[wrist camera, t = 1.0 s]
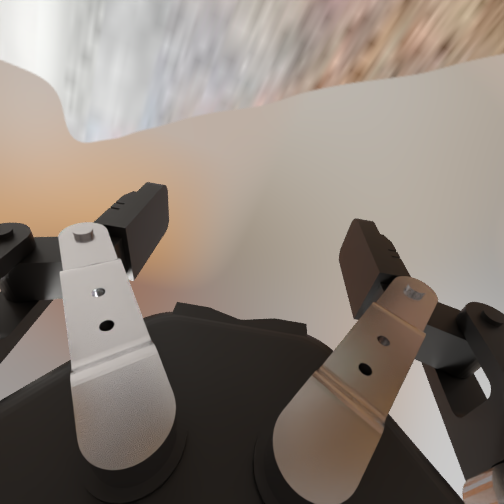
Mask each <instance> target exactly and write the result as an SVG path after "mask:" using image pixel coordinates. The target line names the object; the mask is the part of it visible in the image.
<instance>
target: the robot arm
mask: <svg viewBox="0 0 504 504" xmlns="http://www.w3.org/2000/svg"><path fill="white" fill-rule="evenodd" d="M168 223H169V210H168V190H167V187H166V185H161V184H155V183H150V182H147V183H146V184H145V185H143V187H141V189H139V190H138V191H137V192H134V191H133V192H131V193H128V194H126V195H124V196H122V197H121V198H120V199H119V200H118V201H117V202H116V203H114V204H113V205H112V206H111V208H109V209H108V210H107V211H105V212H104V213H103V214H102V215H101V216H100V217H99V218H98V219H97V220H96V221H94V222H93V223H91V222H88V223H87V222H86V223H79V224H74V225H71V226H69V227H67V228H65V229H64V230H62V231H61V232H60V234H59V236H58V237H33V235H32V232H31V230H30V228H29V227H28V226H27V225H24V224H21V223H2V224H0V289H1V292H0V363H1V362H2V361H3V360H4V359H5V357H6V356H7V355H8V354H9V353H10V351H11V350H12V349H13V348H14V346H15V345H16V344H17V343H18V342H19V340H20V339H21V338H22V337H23V336H24V334H25V333H26V332H27V331H28V330H29V328H30V327H31V326H32V325H33V324H34V322H35V321H36V320H37V319H38V317H39V316H40V315H41V314H42V313H43V311H44V310H45V309H46V308H47V307H48V305H49V304H50V303H51V302H52V301H53V299H63V304H64V312H65V319H66V327H67V335H68V343H69V350H70V358H71V360H69V361H68V362H66V363H64V364H62V365H61V366H59V367H57V368H56V369H54V370H52V371H50V372H49V373H47V374H45V375H44V376H42V377H40V378H38V379H37V380H35V381H33V382H31V383H30V384H28V385H26V386H25V387H23V388H21V389H20V390H18V391H16V392H14V393H13V394H11V395H9V396H8V397H6V398H4V399H2V400H1V401H0V504H504V314H503V313H501V312H500V311H498V310H496V309H495V308H493V307H490V306H488V305H486V304H483V303H478V302H470V303H468V304H467V305H466V306H465V307H464V308H463V309H462V310H461V311H460V310H458V309H455V308H452V307H449V306H447V305H444V304H442V303H439V302H438V298H437V295H436V293H435V292H434V291H433V290H432V289H431V288H430V287H429V286H428V285H426V284H425V283H423V282H422V281H420V280H418V279H415V278H412V277H411V276H410V275H409V273H408V271H407V269H406V267H405V265H404V264H403V262H402V260H401V259H400V256H399V255H398V253H397V252H396V249H395V247H394V245H393V244H392V242H391V241H390V240H388V239H387V238H386V237H385V236H384V235H381V234H380V233H379V231H378V229H377V227H376V225H375V223H374V222H373V221H367V220H362V219H354V220H353V221H352V223H351V225H350V227H349V230H348V232H347V235H346V237H345V239H344V242H343V244H342V247H341V249H340V254H339V263H340V267H341V271H342V274H343V279H344V282H345V286H346V290H347V294H348V298H349V302H350V306H351V310H352V314H353V318H354V319H357V320H358V322H357V323H356V324H355V325H354V326H353V328H352V329H351V330H350V331H349V333H348V334H347V335H346V336H345V338H344V339H343V340H342V341H341V342H340V344H339V345H338V346H337V348H336V349H335V350H334V351H333V350H332V349H330V348H329V347H328V346H327V345H325V344H324V343H322V342H321V341H319V340H317V339H316V338H314V337H312V336H310V335H307V328H306V324H304V323H298V322H292V321H286V320H280V319H253V320H240V319H237V318H234V317H232V316H229V315H227V314H224V313H222V312H219V311H216V310H214V309H212V308H209V307H203V306H198V305H191V304H186V303H180V302H177V304H176V306H175V308H174V311H173V312H165V313H159V314H155V315H151V316H148V317H145V318H143V317H142V315H141V312H140V309H139V307H138V304H137V301H136V299H135V296H134V293H133V291H132V288H131V285H130V283H129V280H132V281H134V280H135V278H136V277H137V275H138V274H139V272H140V271H141V269H142V268H143V266H144V265H145V263H146V261H147V260H148V258H149V257H150V255H151V254H152V252H153V251H154V249H155V247H156V246H157V244H158V243H159V241H160V240H161V238H162V236H163V235H164V234H165V232H166V230H167V227H168ZM414 359H416V360H418V361H421V362H422V365H423V367H424V370H425V373H426V375H427V378H428V381H429V384H430V386H431V389H432V392H433V394H434V397H435V400H436V402H437V405H438V408H439V411H440V413H441V416H442V419H443V421H444V424H445V426H446V429H447V432H448V435H449V437H450V440H451V443H452V445H453V448H454V451H455V453H456V456H457V459H458V462H459V464H460V467H461V470H462V472H463V475H464V478H465V480H466V482H465V484H464V487H463V500H462V499H461V498H460V497H459V495H458V494H457V493H456V492H455V491H454V490H453V488H452V487H451V486H450V485H449V484H448V483H447V481H446V480H445V479H444V478H443V477H442V476H441V474H439V472H438V471H437V470H436V469H435V467H434V466H433V465H432V464H431V463H430V462H429V460H428V459H427V458H426V457H425V456H424V455H423V453H422V452H421V451H420V450H419V449H418V448H417V447H416V445H415V444H414V443H413V442H412V441H411V440H410V438H409V437H408V436H407V435H406V434H405V433H404V431H403V430H402V429H401V428H400V427H399V426H398V424H397V423H396V422H395V421H394V420H393V419H392V417H391V416H390V415H389V414H388V413H389V411H390V409H391V407H392V405H393V402H394V400H395V398H396V396H397V394H398V392H399V390H400V388H401V386H402V384H403V382H404V380H405V378H406V375H407V373H408V371H409V369H410V367H411V365H412V363H413V361H414ZM480 367H482V369H483V371H484V372H485V374H486V376H487V378H488V380H489V382H490V385H491V394H490V397H489V398H488V399H487V398H486V396H485V394H484V392H483V390H482V389H481V387H480V385H479V383H478V381H477V379H476V377H475V375H474V372H475V371H476V370H478V369H479V368H480Z"/></svg>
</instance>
